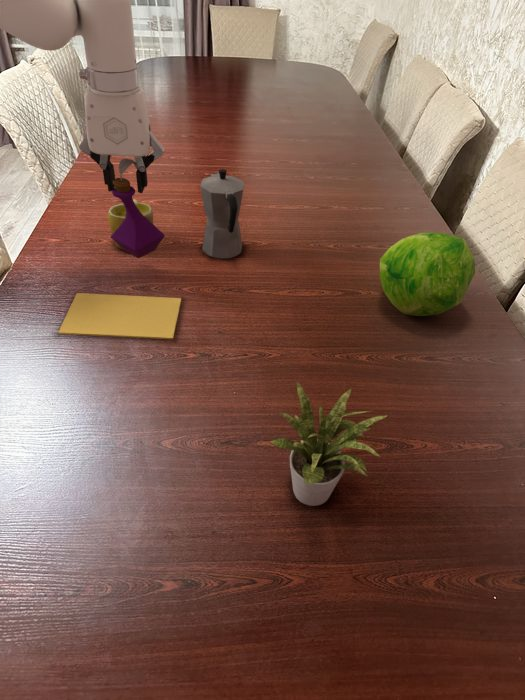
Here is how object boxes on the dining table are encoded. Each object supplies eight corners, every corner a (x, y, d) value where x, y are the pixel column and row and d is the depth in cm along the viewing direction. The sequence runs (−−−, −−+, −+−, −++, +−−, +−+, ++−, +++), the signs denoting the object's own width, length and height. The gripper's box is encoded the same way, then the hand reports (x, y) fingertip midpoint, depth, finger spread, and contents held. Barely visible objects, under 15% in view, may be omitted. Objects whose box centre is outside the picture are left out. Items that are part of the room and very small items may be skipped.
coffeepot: (194, 236, 120) (192, 158, 108) (234, 232, 122) (235, 155, 110) (211, 272, 109) (211, 190, 97) (254, 266, 111) (259, 186, 100)
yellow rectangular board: (58, 334, 91) (58, 332, 91) (77, 294, 100) (76, 292, 100) (173, 339, 92) (172, 337, 92) (181, 299, 101) (181, 298, 101)
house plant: (365, 558, 63) (395, 479, 53) (253, 536, 65) (261, 455, 54) (368, 463, 74) (393, 382, 63) (272, 446, 75) (281, 364, 65)
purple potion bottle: (137, 265, 99) (122, 173, 87) (112, 251, 102) (94, 161, 90) (167, 249, 103) (156, 160, 91) (142, 237, 107) (128, 149, 95)
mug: (156, 251, 110) (139, 204, 106) (112, 260, 112) (94, 215, 108) (171, 233, 121) (157, 191, 116) (131, 242, 123) (115, 200, 118)
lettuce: (447, 289, 112) (423, 220, 108) (506, 296, 92) (479, 212, 88) (377, 324, 110) (349, 255, 107) (422, 338, 91) (390, 255, 87)
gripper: (52, 82, 80) (74, 195, 92) (164, 89, 80) (171, 201, 92) (66, 70, 85) (85, 178, 97) (170, 76, 86) (176, 183, 98)
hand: (126, 188), depth 94 cm, fingers closed on purple potion bottle, 4 cm apart
